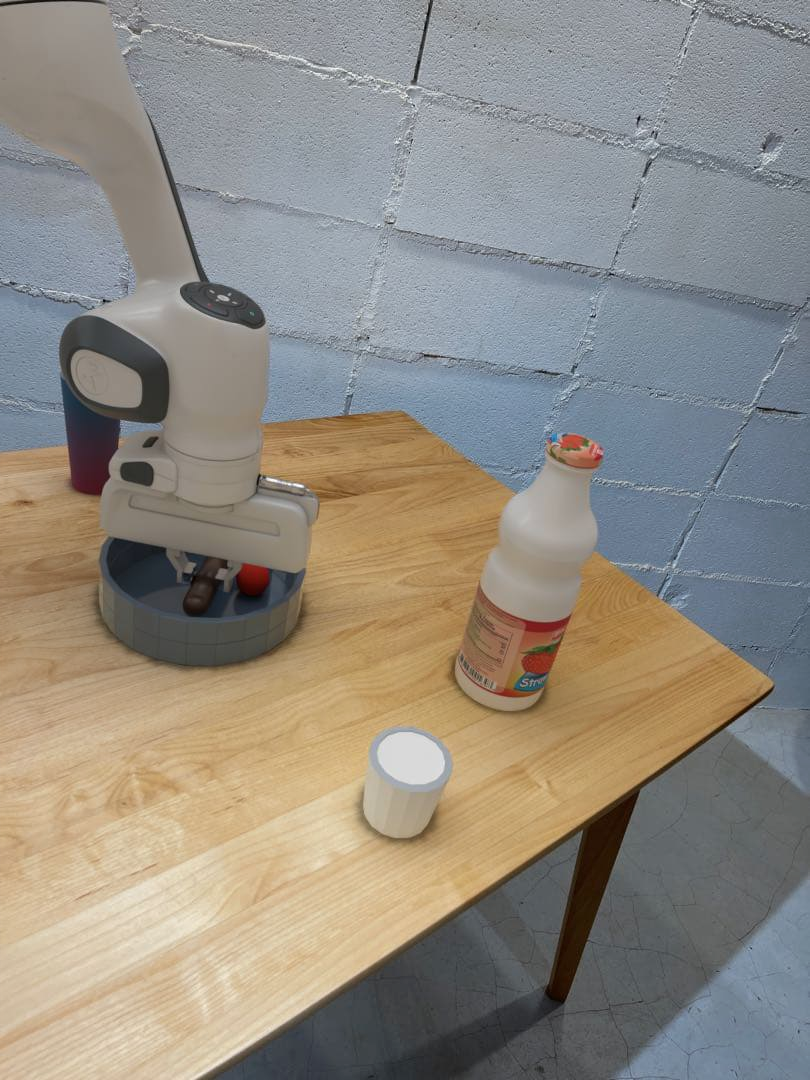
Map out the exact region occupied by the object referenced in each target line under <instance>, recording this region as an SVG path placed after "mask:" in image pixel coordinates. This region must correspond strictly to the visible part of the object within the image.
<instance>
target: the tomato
mask: <svg viewBox="0 0 810 1080" xmlns="http://www.w3.org/2000/svg"><path fill="white" fill-rule="evenodd" d="M269 582H270V575H269V572H268V570H267V569H266V568H265V567H260V566H255V565H250V564H244V565H243V566H242V569H241V570H240V571H239V572H238V573H237V575H236V583H237V586H238V587H239V589H240V590H241V591H242V592H243V593H245V594H248V595H258V594H261V593H262V592H264V591H265V590H266V589H267V587H268V585H269Z"/></svg>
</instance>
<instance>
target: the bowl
mask: <svg viewBox="0 0 810 1080" xmlns="http://www.w3.org/2000/svg"><path fill="white" fill-rule="evenodd" d="M184 553H185V555H186V557H187V559H188V561H189V562H192V563H197V565H196V570H195V571H196V575H197V573H198V571H199V569H200V567H201V565H202V564H203V562H204V560H205V558H206V556H205V555H200V554H195V553H190V552H185V551H184ZM244 564H245V563H244ZM244 564H243V565H244ZM306 567H307V566H305V567H304V568H303V569H302V570H300V571H299V572H297V573H290V572H285V571H280V570H275V569H270V568H266V569H267V570H268V572H269V575H270V582H269V585H268V587H267V589H266V590H265V591H264V592H262V593H261V594H258V595H248V594H245V593H243V592H242V591H241V590H240V589H239V587H238V586H237V583H236V576H235V577H234V578H233V583H232V587H231V589H230V591H229V593H227V592H222V591H217V593H216V595H215V597H214V599H213V601H212V603H211V605H210V608H209V610H208V612H207V613H206V614H205V615H204V616H202V617H189V616H187V615H186V614H185V612H184V611H183V608H182V603H183V600H184V598H185V596H186V594H187V592H188V590H189V588H190V586H191V585H186V584H182V583H177V570H176V569H175V568H174V566H173V565H172V563H171V562H170V560H169V558H168V557H167V555H166V548H164V547H159V546H154V545H149V544H144V543H139V542H134V541H129V540H124V539H119V538H114V537H110V536H107V538H106V539H105V541H104V542H103V543H102V545H101V547H100V553H99V556H98V604H99V609H100V613H101V617H102V620H103V622H104V623H105V625H106V626H107V628H108V630H110V632H111V633H112V634H113V635H114V637H116V638H117V639H118V640H119V641H120V642H122V643H123V644H124V645H126V646H127V647H129V648H130V649H132V650H134V651H136V652H138V653H140V654H142V655H144V656H146V657H149V658H152V659H155V660H158V661H161V662H166V663H170V664H175V665H182V666H191V667H215V666H216V667H217V666H226V665H231V664H236V663H240V662H244V661H247V660H251V659H254V658H257V657H260V656H261V655H263V654H266V653H268V652H270V651H271V650H272V649H275V648H276V647H277V646H279V645H280V644H281V643H283V642H284V640H286V638H288V636H289V635H290V634H291V632H292V631H293V630H294V628H295V627H296V624H297V623H298V620H299V619H298V618H299V616H300V614H301V613H300V612H301V607H302V602H303V601H302V600H303V594H304V589H305V582H306V574H307V568H306ZM236 575H237V574H236Z"/></svg>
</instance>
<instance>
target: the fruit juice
mask: <svg viewBox="0 0 810 1080" xmlns="http://www.w3.org/2000/svg"><path fill="white" fill-rule="evenodd" d="M544 457H545V462H544V464H543V466H542V468H541V470H540V472H539V473H538V475H536V477H535V479H534V480H533V482H531V484H530V485H529V486H527V487H526V488H524V489H523V490H521V491H519V492H517V494H515V495H513V497H511V498H510V499H508V501H507V503H506V504H505V505H504V507H503V509H502V511H501V514H500V517H499V519H498V525H497V543H496V544H495V546H493V548H492V549H491V550H490V552H489V553H488V556H487V558H486V560H485V563H484V566H483V568H482V571H481V574H480V578H479V582H478V585H477V588H476V592H475V596H474V598H473V602H472V605H471V608H470V612H469V615H468V619H467V623H466V625H465V630H464V633H463V635H462V639H461V642H460V645H459V650H458V653H457V656H456V660H455V664H454V677H455V679H456V682H457V684H458V685H459V687H460V688H461V690H462V691H463V692H464V693H465V694H466V695H467V696H468V697H470V699H472V700H474V701H475V702H477V703H479V704H480V705H483V706H484V707H487V708H490V709H493V710H497V711H502V712H503V711H504V712H517V711H522V710H526V709H529V708H530V707H532V706H534V705H535V704H536V702H537V701H538V700H539V699H540V698H541V695H542V693H543V692H544V690H545V687H546V683H547V682H548V678H549V676H550V673H551V670H552V668H553V665H554V663H555V660H556V658H557V655H558V652H559V650H560V647H561V644H562V641H563V639H564V637H565V633H566V631H567V629H568V625H569V623H570V620H571V618H572V615H573V613H574V610H575V608H576V605H577V603H578V599H579V596H580V593H581V588H582V582H583V577H582V575H583V574H582V570H583V568H584V567H585V566H586V564H588V562H589V561H590V560H591V558H592V556H593V555H594V553H595V550H596V547H597V544H598V539H599V526H598V523H597V519H596V517H595V515H594V512H593V510H592V507H591V484H592V479H593V475H594V474H595V473H596V472H598V470H599V469H600V467H601V465H602V462H603V458H604V450H603V447H602V446H601V445H600V444H599V443H597V442H596V441H594V440H593V439H591V438H589V437H587V436H583V435H580V434H577V433H574V432H564V431H563V432H556V433H553V434H552V435H551V436H550V437H549V438H548V441H547V443H546V445H545V450H544Z"/></svg>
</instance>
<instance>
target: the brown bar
mask: <svg viewBox="0 0 810 1080" xmlns="http://www.w3.org/2000/svg"><path fill="white" fill-rule="evenodd" d="M227 564H228V560H225V559H220V558H215V557H210V556H206V558H205V560H204V562H203V564H202V565H201V567H200V569H199V571H198V573H197V575H196V577H195V579H194V581H193V583H192V585H191V586H190V588H189V590H188V592H187V594H186V596H185V598H184V600H183V603H182V608H183V611H184V612H185V614H186V615H187V616H189V617H202V616H204V615H205V614H206V613H207V612H208V610H209V608H210V605H211V603H212V601H213V599H214V597H215V595H216V593H217V591H218V590H214V586H215V577H216V575H217V574H218V571H219V569H220V568H222V569H228V568H229V567H228V566H227Z"/></svg>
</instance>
